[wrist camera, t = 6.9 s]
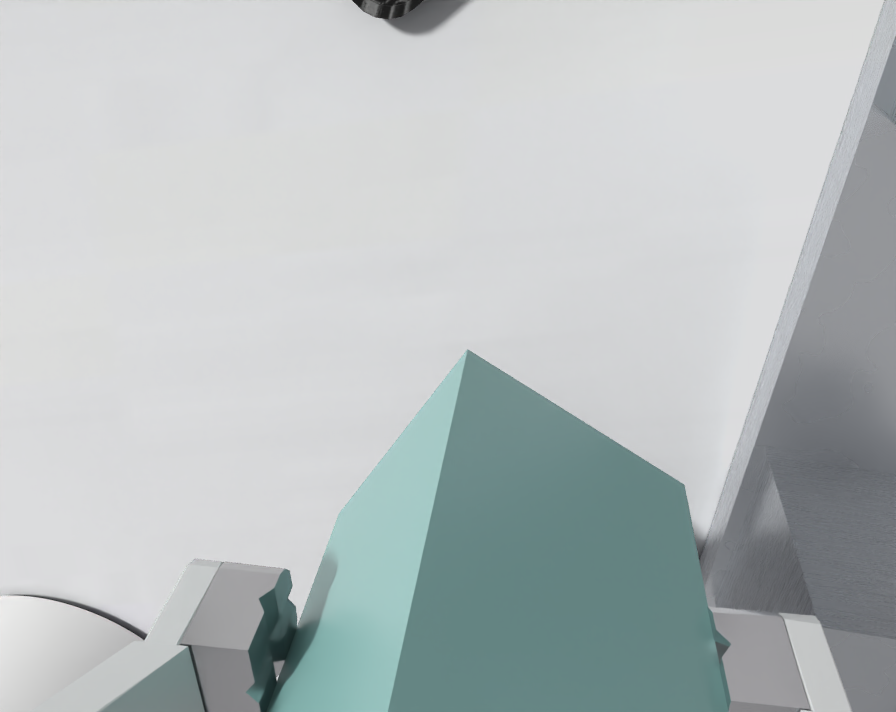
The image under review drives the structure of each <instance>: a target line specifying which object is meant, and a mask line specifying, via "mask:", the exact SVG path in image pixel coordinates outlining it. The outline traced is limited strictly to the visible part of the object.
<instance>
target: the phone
mask: <svg viewBox="0 0 896 712" xmlns="http://www.w3.org/2000/svg"><path fill="white" fill-rule="evenodd" d="M352 1H353V2H354V3H355V4H356V5H357V6H358V7H359V8H360V9H362V10H363V11H364V12H366V13H368V14H370V15H372V16H374V17H376V18H383V19H392V18H397V17H401V16H403V15H405V14H406V13H408V12H410V11H411V10H413V9H414V8H415V7H416V6H418V5H419V4H420V3H421V2H422V1H423V0H352Z"/></svg>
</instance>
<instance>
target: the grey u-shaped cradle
mask: <svg viewBox="0 0 896 712" xmlns="http://www.w3.org/2000/svg"><path fill="white" fill-rule="evenodd" d="M699 562H700V567H701V573H702V578H703V583H704V588H705V593H706V598H707V603H708V607H718V608H730V609H743V610H755V611H767V612H776V613H788V614H800V615H812V616H815V617H816V618H817V619H818V620H819V621H820V622H821V625H822V628H823V631H824V634H825V636H826V639H827V642H828V645H829V647H830V650H831V653H832V656H833V659H834V661H835V664H836V667H837V670H838V672H839V675H840V678H841V681H842V684H843V686H844V689H845V692H846V695H847V697H848V700H849V703H850V706H851V709H852V711H853V712H896V0H885V2H884V5H883V8H882V11H881V14H880V17H879V20H878V23H877V26H876V29H875V32H874V35H873V38H872V41H871V44H870V47H869V50H868V53H867V56H866V59H865V62H864V65H863V68H862V71H861V74H860V77H859V81H858V84H857V87H856V90H855V93H854V96H853V99H852V102H851V105H850V108H849V111H848V114H847V117H846V120H845V123H844V126H843V129H842V132H841V135H840V138H839V141H838V144H837V147H836V150H835V153H834V156H833V159H832V162H831V165H830V168H829V171H828V174H827V177H826V180H825V183H824V186H823V189H822V192H821V195H820V198H819V201H818V204H817V207H816V210H815V213H814V216H813V220H812V223H811V226H810V229H809V232H808V235H807V238H806V241H805V244H804V247H803V250H802V253H801V256H800V259H799V262H798V265H797V268H796V271H795V274H794V277H793V280H792V283H791V286H790V289H789V292H788V295H787V298H786V301H785V304H784V307H783V310H782V313H781V316H780V319H779V322H778V325H777V328H776V331H775V334H774V337H773V340H772V343H771V346H770V349H769V352H768V355H767V358H766V362H765V365H764V368H763V371H762V374H761V377H760V380H759V383H758V386H757V389H756V392H755V395H754V398H753V401H752V404H751V407H750V410H749V413H748V416H747V419H746V422H745V425H744V428H743V431H742V434H741V437H740V440H739V443H738V446H737V449H736V452H735V455H734V458H733V461H732V464H731V467H730V470H729V473H728V476H727V479H726V482H725V485H724V488H723V491H722V494H721V497H720V501H719V504H718V507H717V510H716V513H715V516H714V519H713V522H712V525H711V528H710V531H709V534H708V537H707V540H706V543H705V546H704V549H703V552H702V555H701V558H700V561H699Z"/></svg>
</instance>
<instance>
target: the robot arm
mask: <svg viewBox="0 0 896 712" xmlns="http://www.w3.org/2000/svg"><path fill="white" fill-rule="evenodd" d="M291 589H292V581H291V576H290V571H289V570H287V569H283V568H275V567H266V566H258V565H249V564H241V563H232V562H220V561H211V560H202V559H194V560H193V561H192V562H191V563H189V564H188V565H187V566H186V568H185V570H184V571H183V573H182V575H181V577H180V578H179V580H178V582H177V584H176V585H175V587H174V589H173V591H172V593H171V594H170V596H169V598H168V600H167V601H166V603H165V605H164V607H163V608H162V610H161V612H160V614H159V616H158V617H157V619H156V621H155V623H154V624H153V626H152V628H151V630H150V631H149V633H148V635H147V637H146V639H145V640H143V639H141V638H140V637H138V636H137V635H135V634H134V633H132V632H130V631H129V630H127V629H125V628H124V627H122V626H120V625H118V624H116V623H114V622H112V621H110V620H108V619H106V618H104V617H101V616H99V615H97V614H94V613H92V612H89V611H87V610H84V609H81V608H78V607H75V606H72V605H69V604H65V603H61V602H57V601H53V600H48V599H43V598H37V597H29V596H14V595H12V596H0V712H267V709H268V706H269V703H270V701H271V698H272V695H273V693H274V690H275V687H276V685H277V680H276V677H277V676H278V675H279V674H280V672H281V669H282V667H283V664H284V661H285V659H286V657H287V654H288V652H289V649H290V646H291V643H292V641H293V638H294V635H295V632H296V630H297V614H296V606H295V605H294V604H293V603H292V602H291V601H290V600H289V599H288V596H289V594H290V591H291ZM707 608H708V613H709V618H710V623H711V628H712V633H713V639H714V641H715V644H716V649H717V654H718V659H719V664H720V666H719V669H720V674H721V678H722V683H723V688H724V693H725V698H726V703H727V708H728V711H729V712H853V711H852V709H851V706H850V703H849V700H848V697H847V695H846V692H845V689H844V686H843V684H842V681H841V678H840V675H839V672H838V670H837V667H836V664H835V661H834V659H833V656H832V653H831V650H830V647H829V645H828V642H827V639H826V636H825V634H824V631H823V628H822V625H821V622H820V621H819V620H818V619H817V618H816V617H815V616H812V615H800V614H788V613H776V612H767V611H755V610H743V609H730V608H718V607H707Z"/></svg>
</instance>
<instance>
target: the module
mask: <svg viewBox="0 0 896 712" xmlns="http://www.w3.org/2000/svg"><path fill="white" fill-rule="evenodd" d="M707 607H708V603H707V598H706V593H705V588H704V583H703V578H702V573H701V567H700V562H699V557H698V552H697V547H696V542H695V537H694V532H693V527H692V522H691V517H690V511H689V506H688V501H687V496H686V491H685V486H684V484H682V483H681V482H679V481H677V480H676V479H674V478H673V477H671V476H669V475H668V474H666V473H665V472H663V471H661V470H660V469H658V468H657V467H655V466H653V465H652V464H650V463H649V462H647V461H645V460H644V459H642V458H641V457H639V456H637V455H636V454H634V453H633V452H631V451H629V450H628V449H626V448H625V447H623V446H621V445H620V444H618V443H617V442H615V441H613V440H612V439H610V438H609V437H607V436H605V435H604V434H602V433H601V432H599V431H597V430H596V429H594V428H593V427H591V426H589V425H588V424H586V423H585V422H583V421H581V420H580V419H578V418H577V417H575V416H573V415H572V414H570V413H569V412H567V411H565V410H564V409H562V408H561V407H559V406H557V405H556V404H554V403H553V402H551V401H549V400H548V399H546V398H545V397H543V396H541V395H540V394H538V393H537V392H535V391H533V390H532V389H530V388H529V387H527V386H525V385H524V384H522V383H521V382H519V381H517V380H516V379H514V378H513V377H511V376H509V375H508V374H506V373H505V372H503V371H501V370H500V369H498V368H497V367H495V366H493V365H492V364H490V363H489V362H487V361H485V360H484V359H482V358H481V357H479V356H477V355H476V354H474V353H473V352H471V351H469V350H467V351H466V352H465V353H464V355H463V356H462V357H461V358H460V360H459V361H458V362H457V364H456V365H455V366H454V367H453V369H452V370H451V371H450V373H449V374H448V375H447V376H446V378H445V379H444V380H443V381H442V383H441V384H440V385H439V387H438V388H437V389H436V390H435V392H434V393H433V394H432V396H431V397H430V398H429V399H428V401H427V402H426V403H425V404H424V406H423V407H422V408H421V410H420V411H419V412H418V413H417V415H416V416H415V417H414V419H413V420H412V421H411V422H410V424H409V425H408V426H407V427H406V429H405V430H404V431H403V433H402V434H401V435H400V436H399V438H398V439H397V440H396V442H395V443H394V444H393V445H392V447H391V448H390V449H389V450H388V452H387V453H386V454H385V456H384V457H383V458H382V459H381V461H380V462H379V463H378V465H377V466H376V467H375V468H374V470H373V471H372V472H371V473H370V475H369V476H368V477H367V479H366V480H365V481H364V482H363V484H362V485H361V486H360V488H359V489H358V490H357V491H356V493H355V494H354V495H353V496H352V498H351V499H350V500H349V502H348V503H347V504H346V505H345V507H344V508H343V509H342V511H341V512H340V513H339V515H338V518H337V521H336V523H335V526H334V529H333V531H332V534H331V537H330V540H329V542H328V545H327V548H326V550H325V553H324V556H323V558H322V561H321V564H320V567H319V569H318V572H317V575H316V577H315V580H314V583H313V586H312V588H311V591H310V594H309V596H308V599H307V602H306V604H305V607H304V610H303V613H302V615H301V618H300V621H299V623H298V626H297V630H296V632H295V635H294V638H293V641H292V643H291V646H290V649H289V652H288V654H287V657H286V659H285V661H284V664H283V667H282V669H281V672H280V675H279V678H278V680H277V685H276V687H275V690H274V693H273V695H272V698H271V701H270V703H269V706H268V709H267V712H729V711H728V708H727V703H726V698H725V693H724V688H723V683H722V678H721V674H720V669H719V666H720V664H719V659H718V654H717V649H716V644H715V641H714V639H713V633H712V628H711V623H710V618H709V613H708V608H707Z"/></svg>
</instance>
